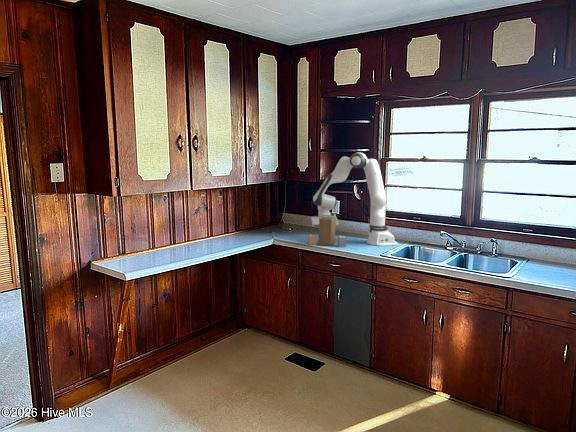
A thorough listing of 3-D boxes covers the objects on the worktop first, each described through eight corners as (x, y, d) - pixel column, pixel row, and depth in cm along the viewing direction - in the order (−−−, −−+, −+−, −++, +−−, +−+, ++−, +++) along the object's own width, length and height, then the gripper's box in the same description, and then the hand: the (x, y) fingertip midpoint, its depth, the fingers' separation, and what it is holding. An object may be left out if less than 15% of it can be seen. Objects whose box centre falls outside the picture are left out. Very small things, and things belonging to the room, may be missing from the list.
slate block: (344, 245, 311) (345, 235, 310) (346, 247, 306) (346, 237, 305) (337, 245, 311) (338, 235, 309) (339, 247, 306) (339, 237, 304)
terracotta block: (315, 243, 316) (315, 233, 314) (316, 245, 311) (316, 235, 309) (308, 243, 315) (308, 233, 314) (309, 245, 310) (309, 235, 309)
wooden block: (318, 244, 312) (318, 218, 309) (322, 242, 321) (323, 216, 318) (331, 246, 308) (331, 219, 305) (335, 243, 317) (336, 217, 314)
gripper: (311, 213, 325) (312, 228, 317) (337, 213, 326) (339, 228, 318) (310, 218, 330) (311, 233, 322) (336, 218, 331) (338, 233, 323)
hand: (325, 231), depth 320 cm, fingers closed
